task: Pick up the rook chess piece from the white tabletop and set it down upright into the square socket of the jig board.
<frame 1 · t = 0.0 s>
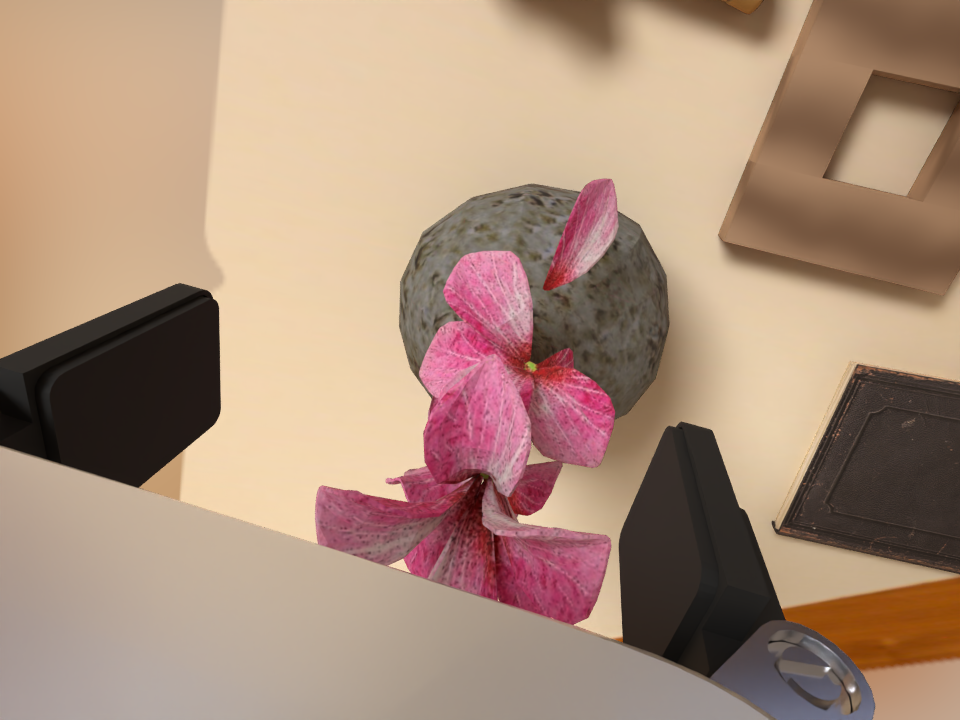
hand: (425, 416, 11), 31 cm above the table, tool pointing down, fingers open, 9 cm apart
vase: (542, 275, 42), on the table
hardcover book: (958, 472, 42), on the table
jig board: (883, 136, 34), on the table
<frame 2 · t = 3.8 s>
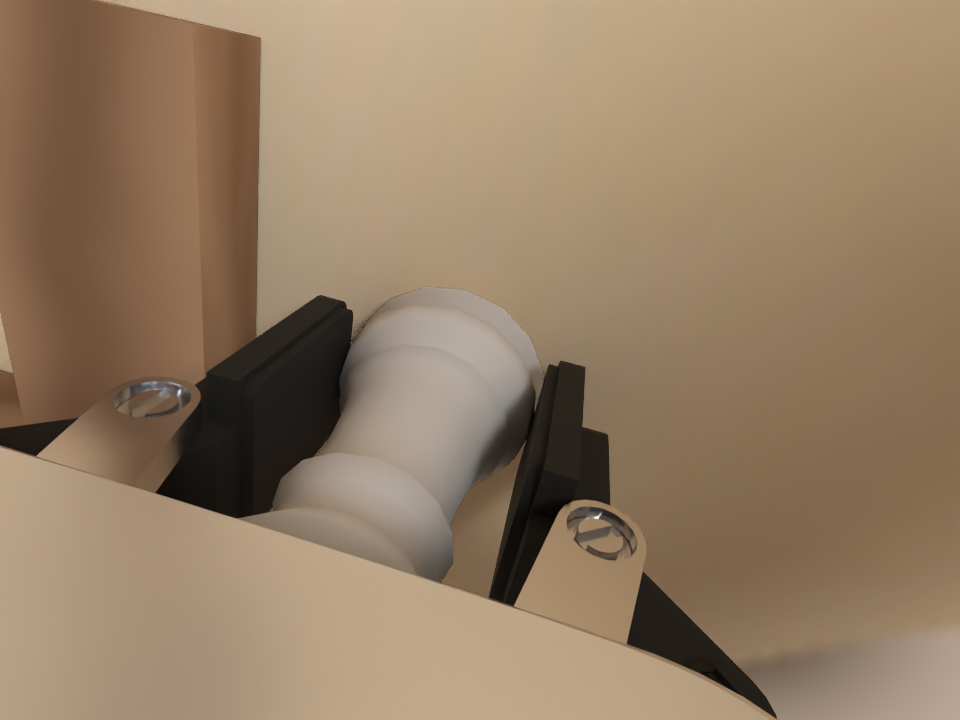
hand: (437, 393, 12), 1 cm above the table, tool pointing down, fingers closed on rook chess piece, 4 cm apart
rook chess piece: (453, 367, 13), on the table, touching gripper
when the fingers open (2 cm above the table, at t = 9.6 s): rook chess piece drops 1 cm, resting in jig board.
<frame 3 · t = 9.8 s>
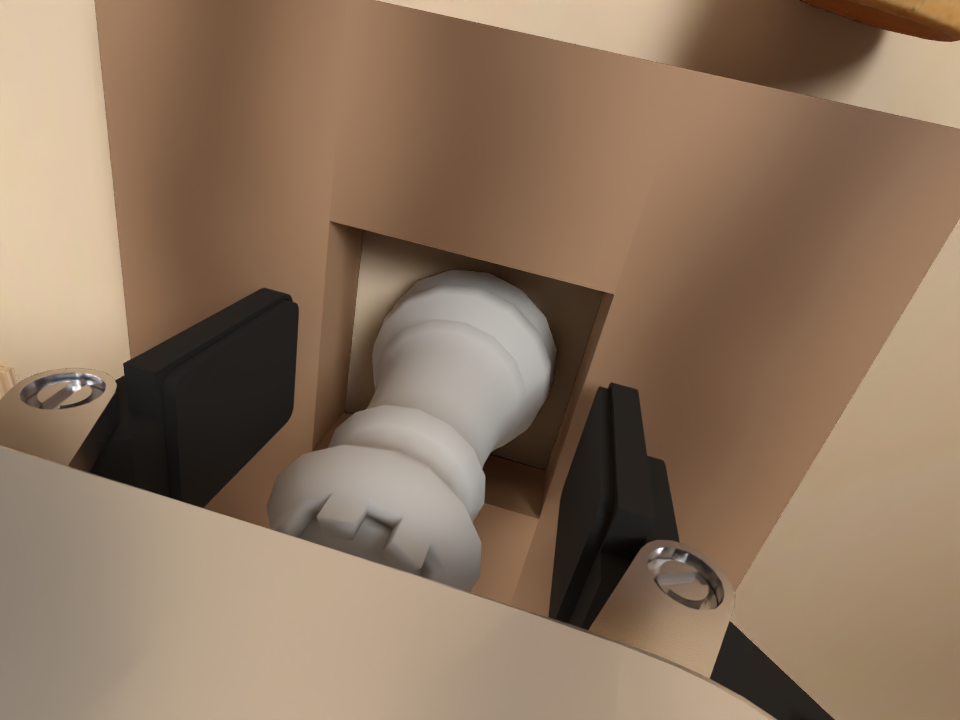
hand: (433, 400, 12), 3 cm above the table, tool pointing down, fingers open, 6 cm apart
rook chess piece: (473, 345, 14), resting in jig board
jig board: (462, 348, 14), on the table
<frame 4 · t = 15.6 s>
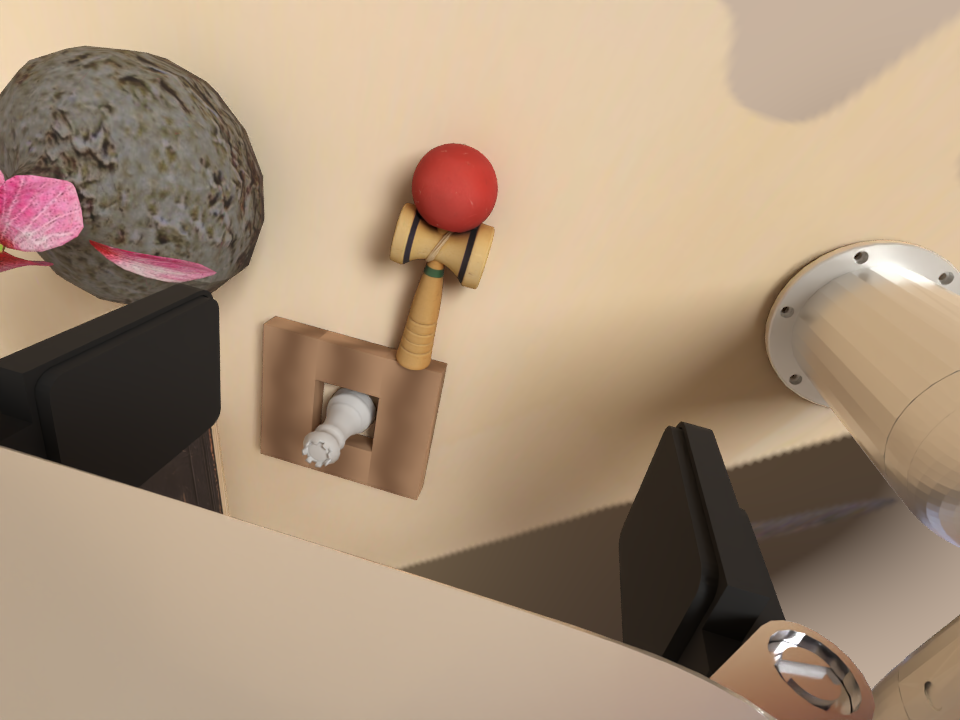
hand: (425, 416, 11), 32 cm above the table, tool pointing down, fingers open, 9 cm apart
vase: (213, 173, 45), on the table
hardcover book: (168, 477, 61), on the table
kendama: (446, 258, 44), on the table
rook chess piece: (356, 404, 51), resting in jig board
jig board: (352, 405, 51), on the table
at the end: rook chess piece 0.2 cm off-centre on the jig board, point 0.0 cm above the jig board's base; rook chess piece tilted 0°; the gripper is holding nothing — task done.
